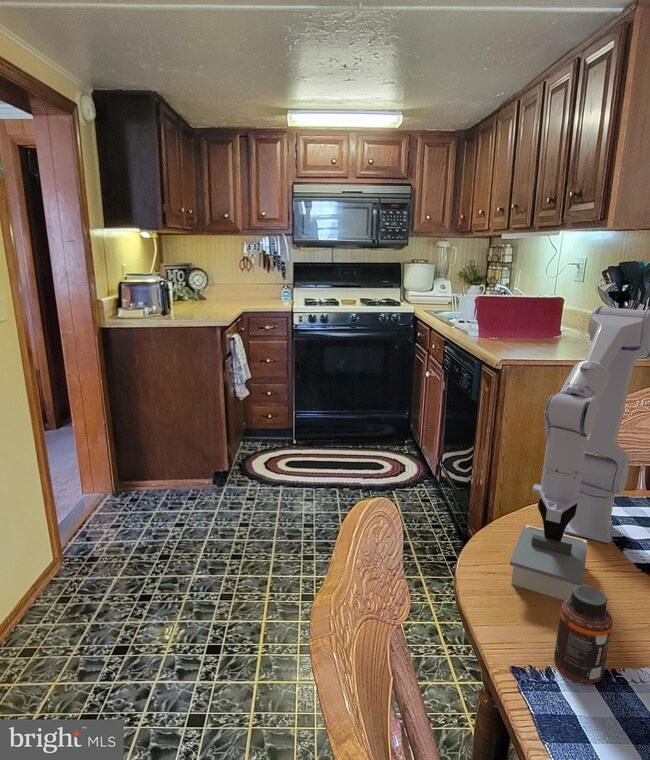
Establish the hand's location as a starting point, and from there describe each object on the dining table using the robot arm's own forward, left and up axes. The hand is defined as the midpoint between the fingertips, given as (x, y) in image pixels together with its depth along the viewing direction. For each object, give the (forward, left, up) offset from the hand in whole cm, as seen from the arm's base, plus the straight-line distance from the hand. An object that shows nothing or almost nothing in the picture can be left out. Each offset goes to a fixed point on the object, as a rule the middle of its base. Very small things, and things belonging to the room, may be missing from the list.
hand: (552, 541), depth 85 cm
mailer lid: (+2, 0, -1) cm, 3 cm away
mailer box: (0, 0, -6) cm, 6 cm away
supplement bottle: (+20, +6, -7) cm, 22 cm away
